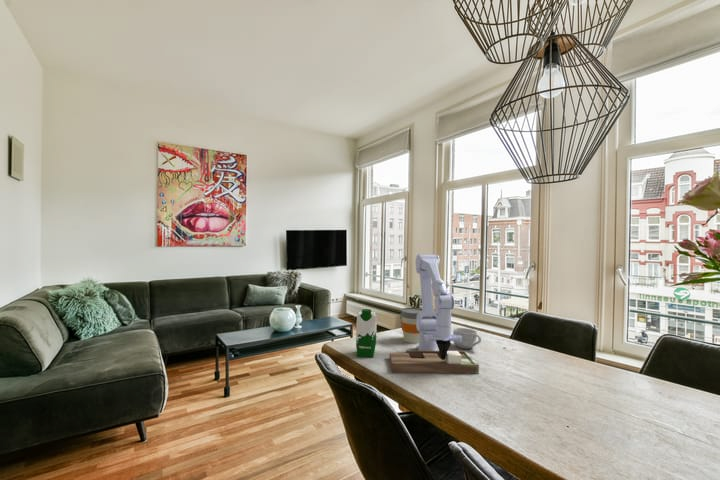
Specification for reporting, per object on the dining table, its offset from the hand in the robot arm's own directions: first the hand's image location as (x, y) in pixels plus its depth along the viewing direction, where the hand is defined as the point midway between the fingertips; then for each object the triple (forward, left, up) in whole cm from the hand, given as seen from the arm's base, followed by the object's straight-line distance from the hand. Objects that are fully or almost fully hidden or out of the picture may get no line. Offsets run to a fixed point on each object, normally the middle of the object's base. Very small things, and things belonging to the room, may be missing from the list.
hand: (442, 358), depth 132 cm
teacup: (-24, +18, -4) cm, 30 cm away
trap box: (-3, -4, -4) cm, 6 cm away
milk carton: (-14, -30, -4) cm, 33 cm away
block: (+1, +4, -1) cm, 4 cm away
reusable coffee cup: (-34, -6, -4) cm, 35 cm away
